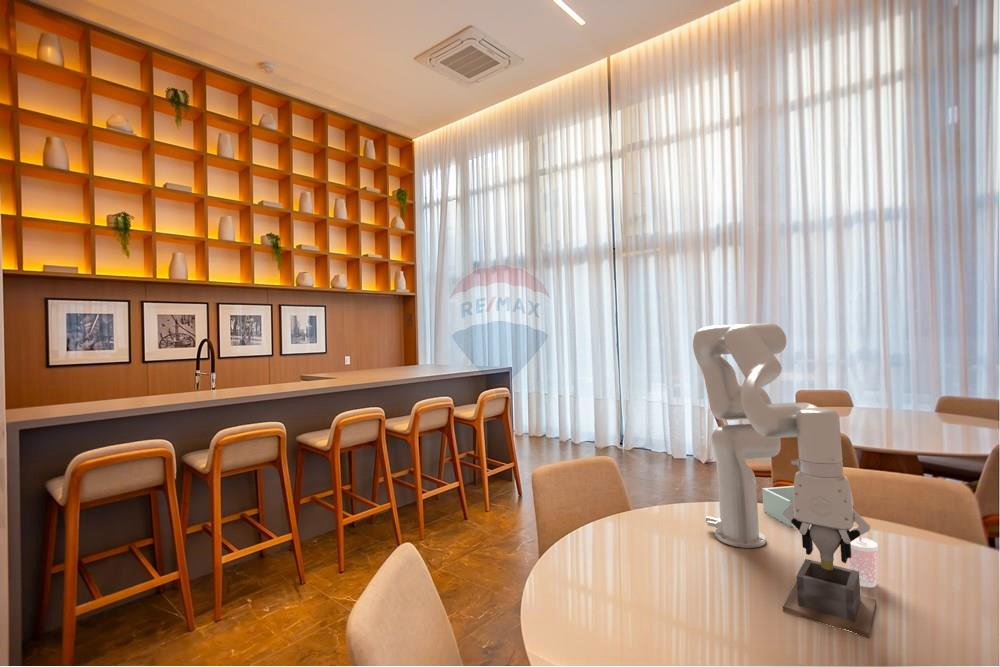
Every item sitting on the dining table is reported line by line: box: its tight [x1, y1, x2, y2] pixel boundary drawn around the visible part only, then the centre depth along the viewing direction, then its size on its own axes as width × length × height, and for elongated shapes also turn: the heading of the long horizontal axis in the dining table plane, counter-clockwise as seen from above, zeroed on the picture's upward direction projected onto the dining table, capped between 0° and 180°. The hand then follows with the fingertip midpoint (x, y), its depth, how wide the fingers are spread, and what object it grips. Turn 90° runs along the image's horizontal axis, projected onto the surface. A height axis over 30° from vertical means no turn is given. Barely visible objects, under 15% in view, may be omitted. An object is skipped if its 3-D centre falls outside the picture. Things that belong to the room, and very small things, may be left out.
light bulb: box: [809, 524, 842, 571], centre depth 97 cm, size 6×5×10 cm
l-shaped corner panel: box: [761, 485, 794, 527], centre depth 143 cm, size 12×12×8 cm
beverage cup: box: [847, 524, 879, 588], centre depth 106 cm, size 6×6×14 cm
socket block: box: [782, 558, 877, 639], centre depth 97 cm, size 14×14×7 cm
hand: (826, 555), depth 97 cm, fingers closed on light bulb, 5 cm apart
